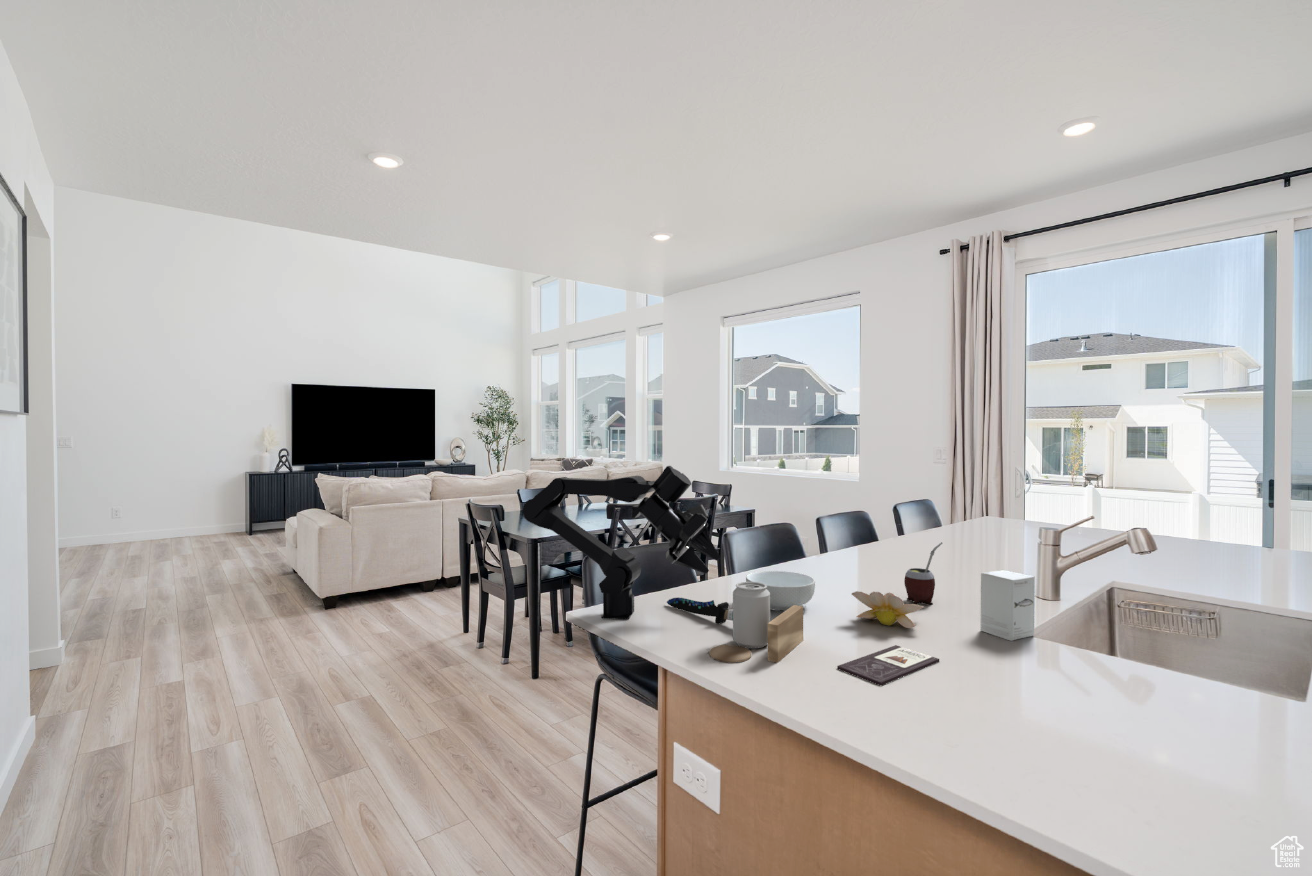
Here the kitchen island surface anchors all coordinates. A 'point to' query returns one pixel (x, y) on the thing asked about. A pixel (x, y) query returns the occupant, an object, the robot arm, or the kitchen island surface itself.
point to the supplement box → (1007, 604)
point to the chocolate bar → (888, 664)
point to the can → (751, 614)
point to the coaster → (730, 653)
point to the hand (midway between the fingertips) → (713, 565)
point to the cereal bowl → (785, 587)
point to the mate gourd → (920, 583)
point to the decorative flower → (886, 608)
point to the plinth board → (785, 633)
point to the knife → (703, 608)
